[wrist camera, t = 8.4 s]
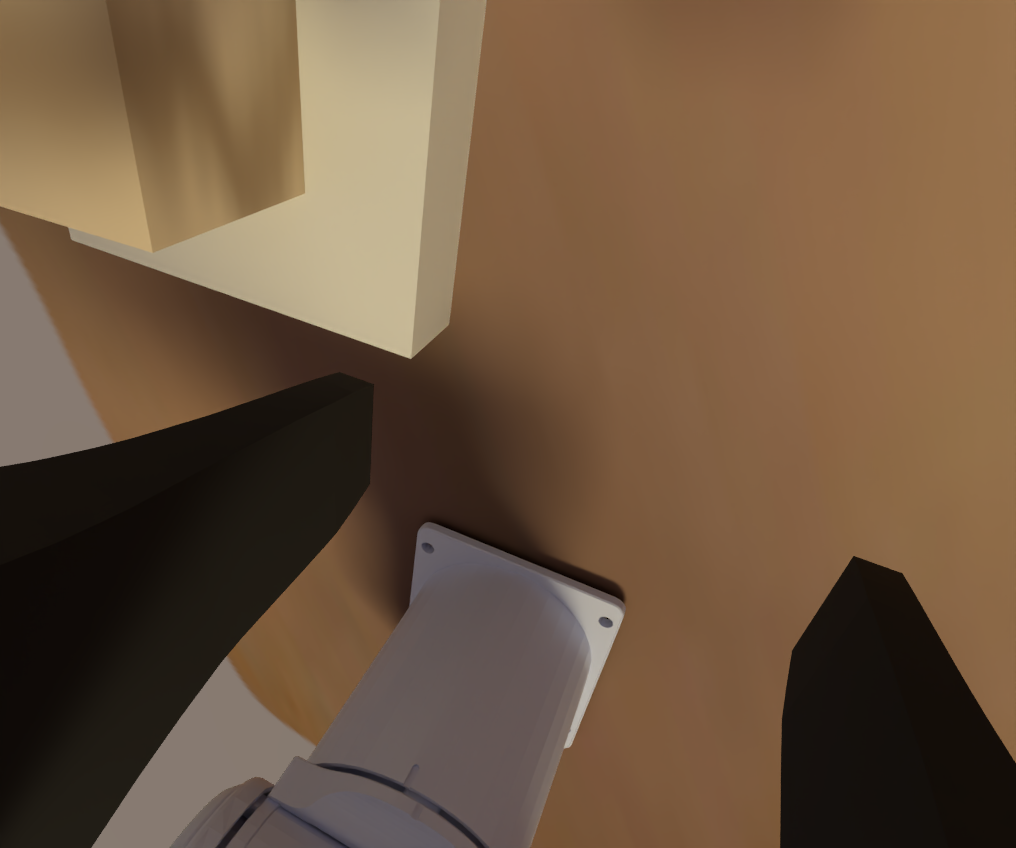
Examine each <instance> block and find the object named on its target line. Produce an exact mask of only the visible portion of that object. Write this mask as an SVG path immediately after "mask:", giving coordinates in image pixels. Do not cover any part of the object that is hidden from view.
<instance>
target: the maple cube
mask: <svg viewBox="0 0 1016 848" xmlns="http://www.w3.org/2000/svg"><path fill="white" fill-rule="evenodd" d="M302 194H305V182H304V162H303V141H302V120H301V100H300V79H299V58H298V38H297V18H296V0H0V206H1V207H4V208H7V209H10V210H14V211H17V212H20V213H23V214H27V215H30V216H33V217H37V218H40V219H43V220H46V221H50V222H53V223H56V224H60V225H63V226H66V227H69V228H73V229H76V230H79V231H83V232H86V233H89V234H92V235H96V236H99V237H102V238H105V239H109V240H112V241H115V242H119V243H122V244H125V245H128V246H132V247H135V248H138V249H142V250H145V251H148V252H151V253H154V252H156V251H159V250H161V249H164V248H167V247H169V246H172V245H174V244H177V243H179V242H182V241H185V240H187V239H190V238H192V237H195V236H197V235H200V234H203V233H205V232H208V231H210V230H213V229H215V228H218V227H220V226H223V225H226V224H228V223H231V222H233V221H236V220H238V219H241V218H244V217H246V216H249V215H251V214H254V213H256V212H259V211H261V210H264V209H267V208H269V207H272V206H274V205H277V204H279V203H282V202H285V201H287V200H290V199H292V198H295V197H297V196H300V195H302Z"/></svg>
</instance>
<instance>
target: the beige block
mask: <svg viewBox="0 0 1016 848" xmlns="http://www.w3.org/2000/svg"><path fill="white" fill-rule="evenodd" d="M486 1H487V0H296V18H297V38H298V58H299V79H300V100H301V120H302V141H303V162H304V182H305V194H302V195H300V196H297V197H295V198H292V199H290V200H287V201H285V202H282V203H279V204H277V205H274V206H272V207H269V208H267V209H264V210H261V211H259V212H256V213H254V214H251V215H249V216H246V217H244V218H241V219H238V220H236V221H233V222H231V223H228V224H226V225H223V226H220V227H218V228H215V229H213V230H210V231H208V232H205V233H203V234H200V235H197V236H195V237H192V238H190V239H187V240H185V241H182V242H179V243H177V244H174V245H172V246H169V247H167V248H164V249H161V250H159V251H156V252H154V253H151V252H148V251H145V250H142V249H138V248H135V247H132V246H128V245H125V244H122V243H119V242H115V241H112V240H109V239H105V238H102V237H99V236H96V235H92V234H89V233H86V232H83V231H79V230H76V229H73V228H69V227H68V228H69V232H70V236H71V240H73V241H76V242H79V243H82V244H84V245H87V246H90V247H93V248H96V249H99V250H102V251H104V252H107V253H110V254H113V255H116V256H119V257H122V258H124V259H127V260H130V261H133V262H136V263H139V264H141V265H144V266H147V267H150V268H153V269H156V270H159V271H161V272H164V273H167V274H170V275H173V276H176V277H179V278H181V279H184V280H187V281H190V282H193V283H196V284H199V285H201V286H204V287H207V288H210V289H213V290H216V291H219V292H221V293H224V294H227V295H230V296H233V297H236V298H239V299H241V300H244V301H247V302H250V303H253V304H256V305H258V306H261V307H264V308H267V309H270V310H273V311H276V312H278V313H281V314H284V315H287V316H290V317H293V318H296V319H298V320H301V321H304V322H307V323H310V324H313V325H316V326H318V327H321V328H324V329H327V330H330V331H333V332H336V333H338V334H341V335H344V336H347V337H350V338H353V339H356V340H358V341H361V342H364V343H367V344H370V345H373V346H375V347H378V348H381V349H384V350H387V351H390V352H393V353H395V354H398V355H401V356H404V357H407V358H410V359H412V358H413V357H414V356H415V355H416V354H417V353H418V352H419V351H420V350H422V349H423V348H424V347H425V346H426V345H427V344H428V343H429V342H430V341H432V340H433V339H434V338H435V337H436V336H437V335H438V334H439V333H440V332H441V331H443V330H444V329H445V328H446V327H447V326H448V325H449V321H450V312H451V304H452V295H453V286H454V278H455V269H456V261H457V252H458V243H459V235H460V226H461V217H462V209H463V200H464V191H465V183H466V174H467V166H468V157H469V148H470V140H471V131H472V122H473V114H474V105H475V96H476V88H477V79H478V71H479V62H480V53H481V45H482V36H483V27H484V19H485V10H486Z"/></svg>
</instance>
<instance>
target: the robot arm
mask: <svg viewBox="0 0 1016 848" xmlns="http://www.w3.org/2000/svg"><path fill="white" fill-rule="evenodd" d="M373 387H374V384H371V383H368V382H365V381H363V380H360V379H357V378H354V377H351V376H349V375H346V374H343V373H340V372H339V373H335V374H332V375H328V376H324V377H321V378H318V379H315V380H312V381H309V382H306V383H303V384H300V385H297V386H294V387H291V388H288V389H285V390H282V391H279V392H276V393H273V394H271V395H268V396H265V397H262V398H259V399H256V400H253V401H250V402H247V403H244V404H241V405H238V406H235V407H232V408H229V409H226V410H223V411H221V412H218V413H215V414H212V415H209V416H205V417H202V418H199V419H195V420H192V421H189V422H185V423H182V424H179V425H175V426H172V427H169V428H165V429H162V430H159V431H155V432H152V433H149V434H145V435H142V436H139V437H135V438H132V439H128V440H124V441H120V442H116V443H112V444H108V445H104V446H100V447H96V448H92V449H88V450H83V451H79V452H74V453H70V454H65V455H61V456H56V457H51V458H47V459H42V460H37V461H32V462H26V463H20V464H14V465H9V466H2V467H0V848H91V847H92V846H93V844H94V843H95V841H96V840H97V838H98V837H99V835H100V834H101V832H102V831H103V829H104V828H105V826H106V825H107V823H108V822H109V820H110V819H111V817H112V816H113V814H114V813H115V811H116V810H117V808H118V807H119V805H120V804H121V802H122V801H123V799H124V798H125V796H126V795H127V793H128V792H129V790H130V789H131V787H132V786H133V784H134V783H135V781H136V780H137V778H138V777H139V775H140V774H141V772H142V771H143V769H144V768H145V766H146V765H147V764H148V763H149V761H150V759H151V758H152V757H153V755H154V754H155V753H156V751H157V750H158V748H159V747H160V746H161V744H162V743H163V741H164V740H165V738H166V737H167V736H168V734H169V733H170V731H171V730H172V728H173V727H174V726H175V724H176V723H177V721H178V720H179V718H180V717H181V716H182V714H183V713H184V712H185V710H186V709H187V708H188V706H189V705H190V704H191V702H192V701H193V699H194V698H195V696H196V695H197V694H198V693H199V691H200V690H201V689H202V688H203V686H204V685H205V683H206V682H207V681H208V679H209V678H210V677H211V675H212V674H213V673H214V671H215V670H216V669H217V667H218V666H219V665H220V663H221V662H222V661H223V660H224V658H225V657H226V656H227V655H228V654H229V652H230V651H231V650H232V649H233V648H234V646H235V645H236V644H237V643H238V642H239V641H240V639H241V638H242V637H243V636H244V635H245V634H246V633H247V631H248V630H249V629H250V628H251V627H252V626H253V625H254V624H255V623H256V622H257V621H258V619H259V618H260V617H261V616H262V615H263V614H264V613H265V612H266V611H267V610H268V608H269V607H270V606H271V605H272V604H273V603H274V602H275V601H276V600H277V599H278V597H279V596H280V595H281V594H282V593H283V592H284V591H285V590H286V589H287V588H288V586H289V585H290V584H291V583H292V582H293V581H294V580H295V579H296V578H297V577H298V576H299V574H300V573H301V572H302V571H303V570H304V569H305V568H306V567H307V566H308V564H309V563H310V562H311V561H312V560H313V559H314V558H315V557H316V556H317V554H318V553H319V552H320V551H321V550H322V549H323V548H324V547H325V545H326V544H327V543H328V542H329V541H330V540H331V539H332V537H333V536H334V535H335V534H336V533H337V531H338V530H339V529H340V527H341V526H342V524H343V523H344V522H345V520H346V519H347V517H348V516H349V514H350V513H351V512H352V510H353V509H354V507H355V506H356V504H357V503H358V501H359V500H360V498H361V497H362V495H363V494H364V492H365V491H366V489H367V487H368V486H369V484H370V466H371V440H372V414H373ZM428 543H429V544H430V545H429V544H428ZM431 545H432V546H431ZM625 609H626V608H625V605H624V603H623V602H622V601H621V600H620V599H618V598H616V597H614V596H612V595H609V594H607V593H604V592H602V591H599V590H597V589H595V588H592V587H590V586H587V585H585V584H582V583H580V582H577V581H575V580H572V579H570V578H568V577H565V576H563V575H560V574H558V573H555V572H553V571H550V570H548V569H545V568H543V567H541V566H538V565H536V564H533V563H531V562H528V561H526V560H523V559H521V558H518V557H516V556H514V555H511V554H509V553H506V552H504V551H501V550H499V549H496V548H494V547H491V546H489V545H487V544H484V543H482V542H479V541H477V540H474V539H472V538H469V537H467V536H464V535H462V534H460V533H457V532H455V531H452V530H450V529H447V528H445V527H442V526H440V525H437V524H435V523H431V522H427V523H424V524H423V525H422V526H421V528H420V529H419V531H418V533H417V542H416V551H415V560H414V569H413V578H412V587H411V596H410V605H409V608H408V610H407V611H406V613H405V614H404V616H403V617H402V619H401V620H400V622H399V623H398V625H397V626H396V628H395V629H394V631H393V632H392V634H391V635H390V637H389V638H388V640H387V641H386V643H385V644H384V646H383V647H382V649H381V650H380V652H379V653H378V655H377V656H376V658H375V659H374V661H373V662H372V664H371V665H370V667H369V668H368V670H367V671H366V673H365V674H364V676H363V677H362V679H361V680H360V682H359V683H358V685H357V686H356V688H355V689H354V691H353V692H352V694H351V695H350V697H349V698H348V700H347V701H346V703H345V704H344V706H343V707H342V709H341V710H340V712H339V713H338V715H337V716H336V718H335V719H334V721H333V722H332V724H331V725H330V727H329V728H328V730H327V731H326V733H325V734H324V736H323V737H322V739H321V740H320V742H319V743H318V745H317V746H316V748H315V750H314V751H313V753H312V754H311V756H310V757H309V759H308V760H307V761H306V760H305V759H303V758H300V757H299V756H296V757H294V758H293V760H292V761H291V763H290V764H289V766H288V767H287V769H286V770H285V771H284V773H283V774H282V776H281V777H280V779H279V780H278V782H277V783H276V785H273V784H271V783H270V782H268V781H267V780H265V779H263V778H260V777H254V778H251V779H249V780H247V781H246V782H244V783H243V784H240V785H237V786H234V787H232V788H228V789H226V790H224V791H223V792H221V793H220V794H218V795H217V796H216V797H215V798H213V799H212V800H211V801H210V802H209V803H208V804H207V805H206V806H205V807H204V808H203V809H202V810H201V811H200V812H199V813H198V814H197V815H196V817H195V818H194V819H193V820H192V821H191V822H190V823H189V824H188V826H187V827H186V828H185V829H184V830H183V831H182V833H181V834H180V835H179V836H178V838H177V839H176V840H175V841H174V843H173V844H172V845H171V847H170V848H530V847H531V844H532V841H533V838H534V835H535V832H536V829H537V826H538V823H539V820H540V817H541V814H542V811H543V808H544V805H545V802H546V799H547V796H548V793H549V790H550V788H551V785H552V782H553V779H554V776H555V773H556V770H557V767H558V764H559V761H560V758H561V755H562V752H563V749H564V748H568V747H570V746H571V745H572V742H573V740H574V737H575V735H576V732H577V730H578V727H579V725H580V723H581V720H582V718H583V715H584V713H585V710H586V708H587V705H588V703H589V701H590V698H591V696H592V693H593V691H594V688H595V686H596V683H597V681H598V679H599V676H600V674H601V671H602V669H603V666H604V664H605V661H606V659H607V657H608V654H609V652H610V649H611V647H612V644H613V642H614V639H615V637H616V635H617V632H618V630H619V627H620V625H621V622H622V620H623V617H624V614H625ZM604 617H607V618H609V619H611V620H609V619H606V618H604ZM780 848H1016V763H1015V761H1014V760H1013V758H1012V757H1011V755H1010V754H1009V752H1008V750H1007V749H1006V747H1005V746H1004V744H1003V743H1002V741H1001V739H1000V738H999V736H998V735H997V733H996V731H995V730H994V728H993V727H992V725H991V723H990V722H989V720H988V719H987V717H986V715H985V714H984V712H983V710H982V709H981V707H980V705H979V704H978V702H977V700H976V699H975V697H974V695H973V694H972V692H971V691H970V689H969V687H968V685H967V684H966V682H965V680H964V679H963V677H962V675H961V674H960V672H959V670H958V668H957V667H956V665H955V663H954V662H953V660H952V658H951V656H950V655H949V653H948V651H947V649H946V648H945V646H944V644H943V642H942V641H941V639H940V637H939V636H938V634H937V632H936V630H935V629H934V627H933V625H932V623H931V622H930V620H929V618H928V616H927V615H926V613H925V611H924V609H923V607H922V606H921V604H920V602H919V601H918V599H917V597H916V595H915V594H914V592H913V590H912V589H911V587H910V585H909V584H908V582H907V580H906V579H905V577H904V575H903V574H902V573H900V572H897V571H894V570H891V569H889V568H886V567H883V566H880V565H877V564H875V563H872V562H869V561H866V560H863V559H861V558H858V557H855V556H853V558H852V559H851V561H850V562H849V564H848V565H847V567H846V569H845V570H844V572H843V573H842V575H841V576H840V578H839V579H838V581H837V582H836V584H835V585H834V587H833V589H832V590H831V592H830V593H829V595H828V596H827V598H826V599H825V601H824V602H823V604H822V605H821V607H820V609H819V610H818V612H817V613H816V615H815V616H814V618H813V619H812V621H811V622H810V624H809V625H808V627H807V629H806V630H805V632H804V633H803V635H802V636H801V638H800V639H799V641H798V642H797V644H796V645H795V647H794V649H793V650H792V655H791V661H790V668H789V674H788V680H787V687H786V694H785V701H784V709H783V716H782V745H781V832H780Z"/></svg>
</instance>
